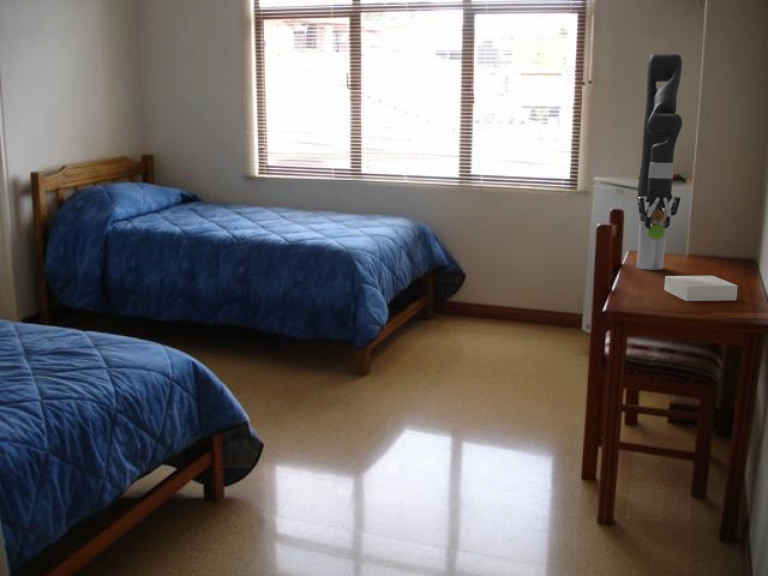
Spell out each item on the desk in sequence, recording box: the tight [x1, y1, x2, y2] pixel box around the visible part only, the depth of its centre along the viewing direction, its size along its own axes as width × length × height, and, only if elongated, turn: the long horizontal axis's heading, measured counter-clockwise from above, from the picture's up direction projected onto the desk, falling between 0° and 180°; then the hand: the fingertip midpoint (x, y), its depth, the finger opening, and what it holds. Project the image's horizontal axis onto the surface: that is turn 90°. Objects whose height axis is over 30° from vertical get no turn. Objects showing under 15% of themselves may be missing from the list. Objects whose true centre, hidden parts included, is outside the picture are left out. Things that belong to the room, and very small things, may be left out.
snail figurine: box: [647, 203, 670, 240], centre depth 267 cm, size 5×6×12 cm
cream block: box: [663, 275, 739, 302], centre depth 258 cm, size 16×16×5 cm
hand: (656, 227), depth 268 cm, fingers closed on snail figurine, 5 cm apart
